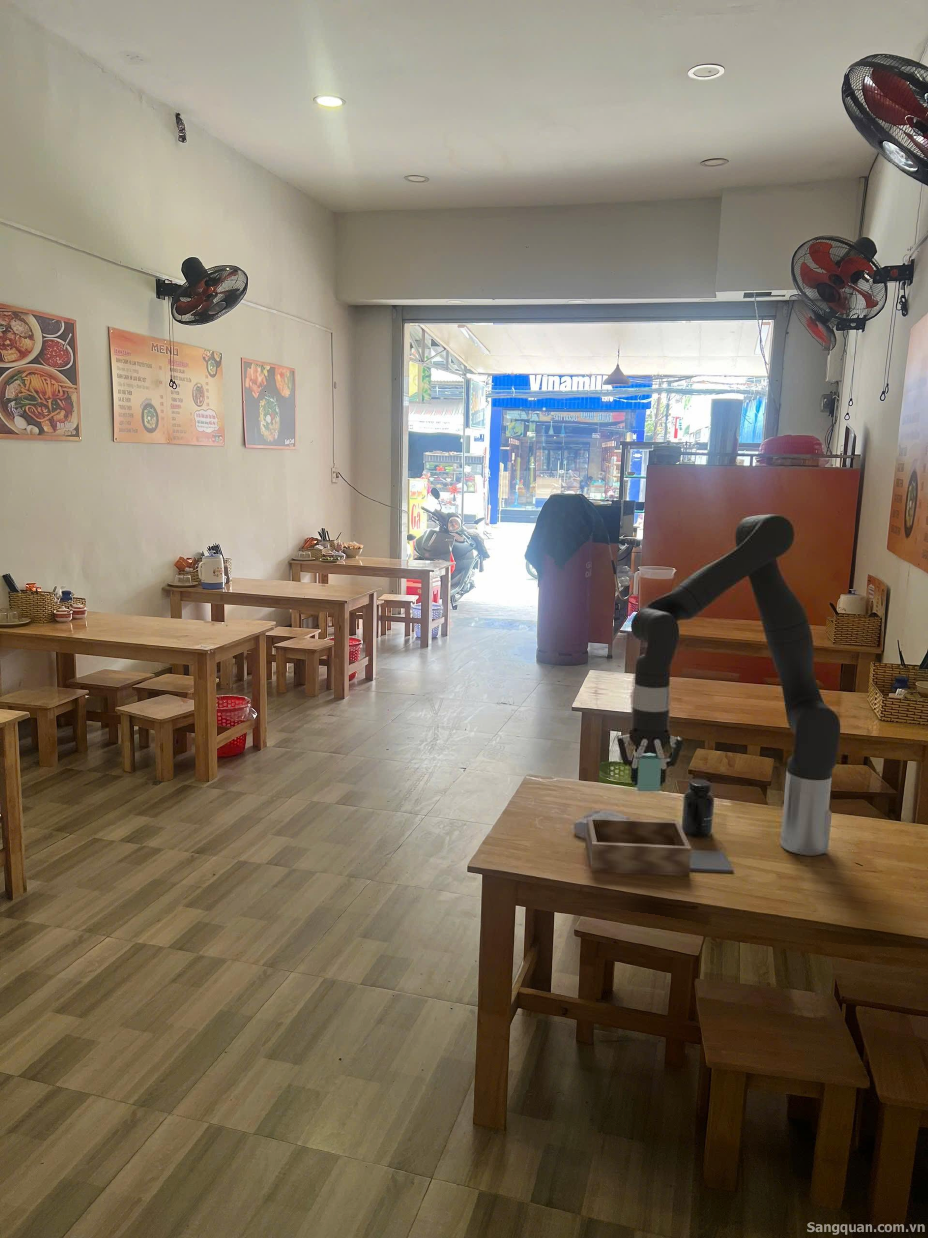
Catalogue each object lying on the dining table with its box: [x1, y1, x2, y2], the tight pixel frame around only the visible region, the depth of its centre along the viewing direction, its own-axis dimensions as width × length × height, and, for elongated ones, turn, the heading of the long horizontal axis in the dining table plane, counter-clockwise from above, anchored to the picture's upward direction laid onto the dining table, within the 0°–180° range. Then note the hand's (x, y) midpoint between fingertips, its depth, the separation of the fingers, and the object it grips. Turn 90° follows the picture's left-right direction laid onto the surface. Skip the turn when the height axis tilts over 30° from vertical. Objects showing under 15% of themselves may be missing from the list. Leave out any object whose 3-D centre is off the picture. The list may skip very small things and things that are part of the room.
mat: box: [690, 849, 735, 874], centre depth 186 cm, size 9×9×1 cm
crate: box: [585, 817, 692, 877], centre depth 186 cm, size 20×14×6 cm
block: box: [635, 753, 661, 793], centre depth 183 cm, size 4×4×7 cm
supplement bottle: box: [681, 778, 715, 838], centre depth 200 cm, size 7×7×12 cm
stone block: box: [573, 810, 630, 839], centre depth 200 cm, size 12×5×10 cm
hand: (647, 783), depth 184 cm, fingers closed on block, 4 cm apart
